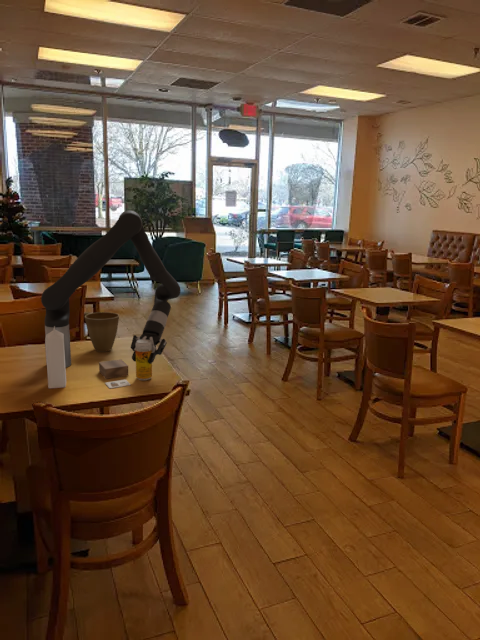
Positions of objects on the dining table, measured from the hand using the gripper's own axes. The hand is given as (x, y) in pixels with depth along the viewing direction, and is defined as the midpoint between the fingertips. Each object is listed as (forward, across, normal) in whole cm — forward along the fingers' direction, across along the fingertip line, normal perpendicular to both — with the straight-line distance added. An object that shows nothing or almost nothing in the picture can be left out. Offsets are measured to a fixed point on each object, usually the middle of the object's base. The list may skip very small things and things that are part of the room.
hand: (141, 361), depth 193 cm
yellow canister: (+4, 0, +6) cm, 8 cm away
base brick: (+4, -14, +6) cm, 15 cm away
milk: (+17, -26, -6) cm, 32 cm away
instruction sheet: (+11, -6, 0) cm, 12 cm away
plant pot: (-14, -35, +25) cm, 45 cm away
